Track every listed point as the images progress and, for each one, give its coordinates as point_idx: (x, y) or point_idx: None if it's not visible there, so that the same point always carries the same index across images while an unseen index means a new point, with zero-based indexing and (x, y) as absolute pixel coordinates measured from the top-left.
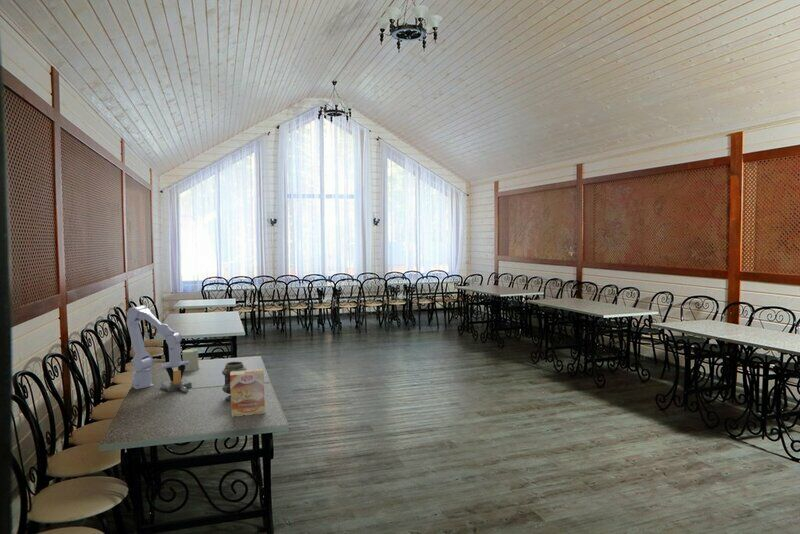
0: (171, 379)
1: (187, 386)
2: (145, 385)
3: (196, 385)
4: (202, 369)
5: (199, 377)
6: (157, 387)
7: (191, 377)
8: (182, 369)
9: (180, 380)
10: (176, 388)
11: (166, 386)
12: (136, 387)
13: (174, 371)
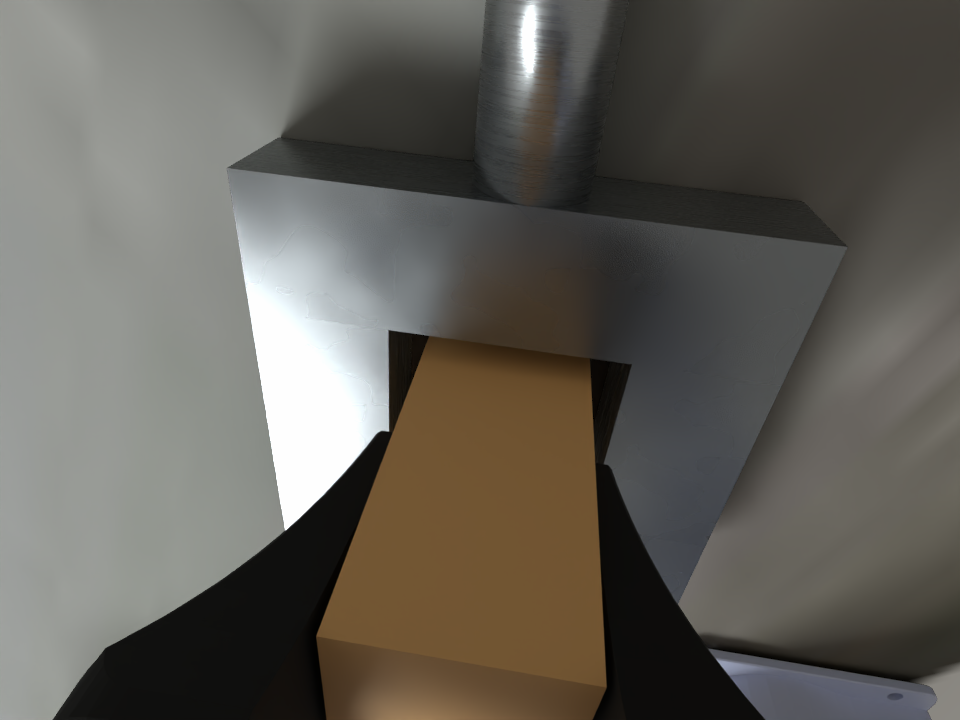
0: (621, 507)
1: (359, 161)
2: (805, 696)
3: (163, 195)
4: (26, 694)
5: (71, 529)
6: (698, 577)
7: (168, 592)
8: (237, 644)
9: (425, 398)
10: (626, 196)
11: (778, 383)
12: (919, 716)
13: (540, 689)
